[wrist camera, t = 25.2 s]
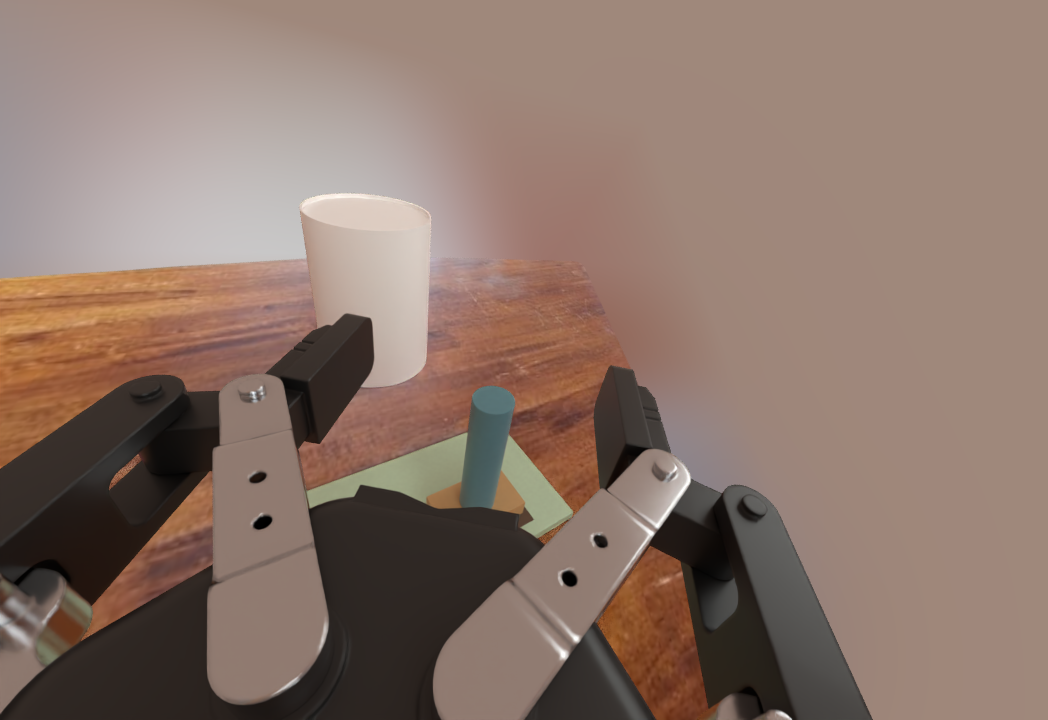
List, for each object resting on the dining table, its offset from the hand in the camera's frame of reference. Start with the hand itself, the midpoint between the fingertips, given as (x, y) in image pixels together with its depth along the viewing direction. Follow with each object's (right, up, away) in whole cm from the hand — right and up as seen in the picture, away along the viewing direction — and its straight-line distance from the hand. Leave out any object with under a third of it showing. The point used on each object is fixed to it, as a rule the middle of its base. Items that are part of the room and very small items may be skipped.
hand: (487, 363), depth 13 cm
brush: (-3, -15, +22) cm, 27 cm away
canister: (-19, 0, +41) cm, 46 cm away
